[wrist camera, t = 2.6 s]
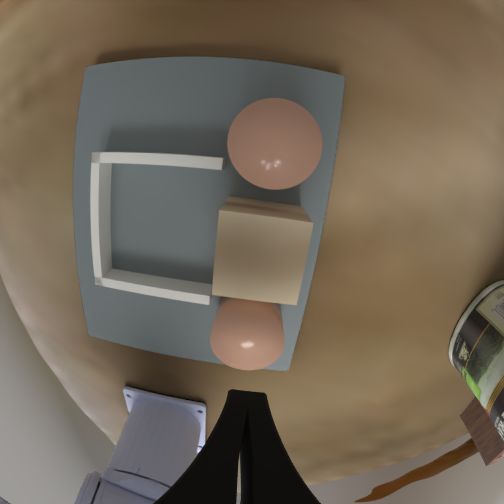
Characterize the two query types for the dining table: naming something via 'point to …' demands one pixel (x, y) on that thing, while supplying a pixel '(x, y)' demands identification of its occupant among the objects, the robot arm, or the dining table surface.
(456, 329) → the coffee can
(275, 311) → the pink rounded cylinder
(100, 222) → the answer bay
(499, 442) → the tissue box cover
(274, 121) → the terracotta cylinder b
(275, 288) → the maple cube
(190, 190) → the slate board
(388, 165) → the dining table surface
